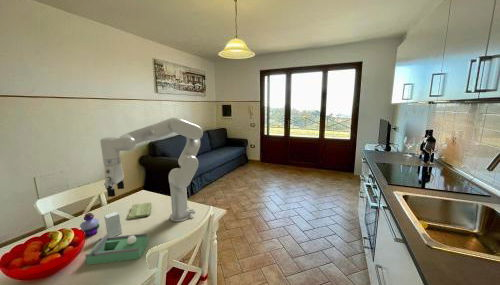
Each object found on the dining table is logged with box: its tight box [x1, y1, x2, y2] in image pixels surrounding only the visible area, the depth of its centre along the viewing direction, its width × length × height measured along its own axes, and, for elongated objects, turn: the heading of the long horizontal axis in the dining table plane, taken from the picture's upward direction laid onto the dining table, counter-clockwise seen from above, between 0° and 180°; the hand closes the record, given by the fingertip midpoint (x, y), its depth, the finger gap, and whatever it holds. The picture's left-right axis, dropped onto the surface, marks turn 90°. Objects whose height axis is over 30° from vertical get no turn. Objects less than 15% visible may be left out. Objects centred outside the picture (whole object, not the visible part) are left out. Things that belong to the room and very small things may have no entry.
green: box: [84, 232, 149, 266], centre depth 99 cm, size 22×12×6 cm, turn 100°
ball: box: [127, 234, 136, 245], centre depth 100 cm, size 4×4×4 cm
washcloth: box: [127, 202, 152, 220], centre depth 138 cm, size 13×18×3 cm
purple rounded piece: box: [79, 212, 100, 238], centre depth 114 cm, size 9×9×12 cm
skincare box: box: [104, 211, 123, 237], centre depth 113 cm, size 6×4×12 cm
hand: (116, 192), depth 110 cm, fingers open, 9 cm apart
